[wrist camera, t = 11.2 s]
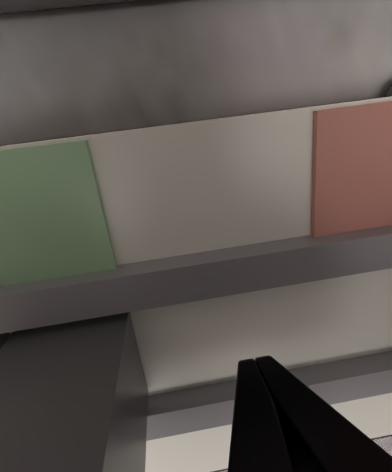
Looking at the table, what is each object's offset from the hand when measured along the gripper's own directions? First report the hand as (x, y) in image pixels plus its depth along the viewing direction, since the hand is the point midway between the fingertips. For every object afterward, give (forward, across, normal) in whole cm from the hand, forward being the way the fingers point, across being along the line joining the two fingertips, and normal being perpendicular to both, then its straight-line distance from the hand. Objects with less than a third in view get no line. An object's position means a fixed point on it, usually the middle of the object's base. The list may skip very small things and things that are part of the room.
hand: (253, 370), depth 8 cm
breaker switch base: (+4, 0, 0) cm, 4 cm away
